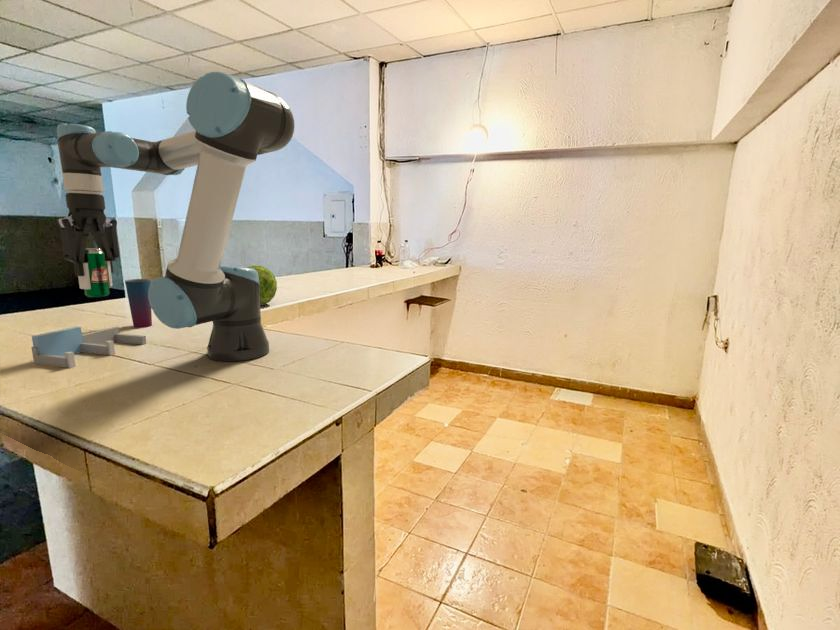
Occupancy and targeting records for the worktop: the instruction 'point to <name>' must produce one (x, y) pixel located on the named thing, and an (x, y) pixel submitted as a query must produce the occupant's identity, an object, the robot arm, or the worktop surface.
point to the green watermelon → (266, 284)
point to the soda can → (97, 272)
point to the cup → (139, 302)
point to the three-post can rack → (77, 345)
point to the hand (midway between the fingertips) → (96, 287)
